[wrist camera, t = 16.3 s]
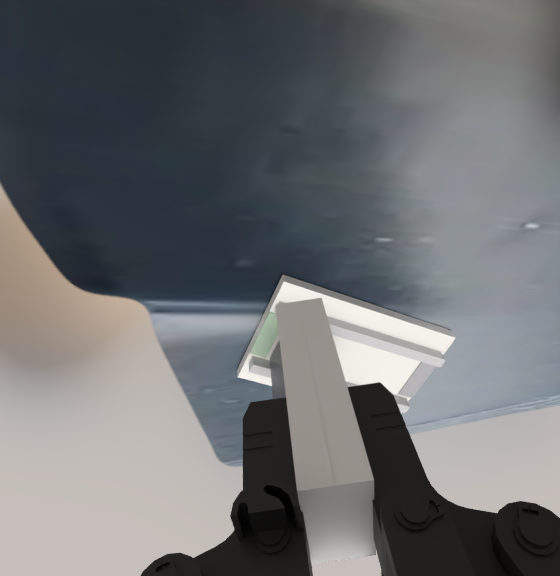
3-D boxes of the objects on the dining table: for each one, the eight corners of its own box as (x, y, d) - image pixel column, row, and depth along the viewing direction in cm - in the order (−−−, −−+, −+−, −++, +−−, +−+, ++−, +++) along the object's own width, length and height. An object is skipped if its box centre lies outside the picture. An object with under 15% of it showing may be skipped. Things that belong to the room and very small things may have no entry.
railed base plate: (450, 330, 53) (461, 345, 50) (392, 409, 59) (398, 426, 57) (282, 274, 47) (285, 288, 45) (237, 368, 53) (237, 385, 51)
